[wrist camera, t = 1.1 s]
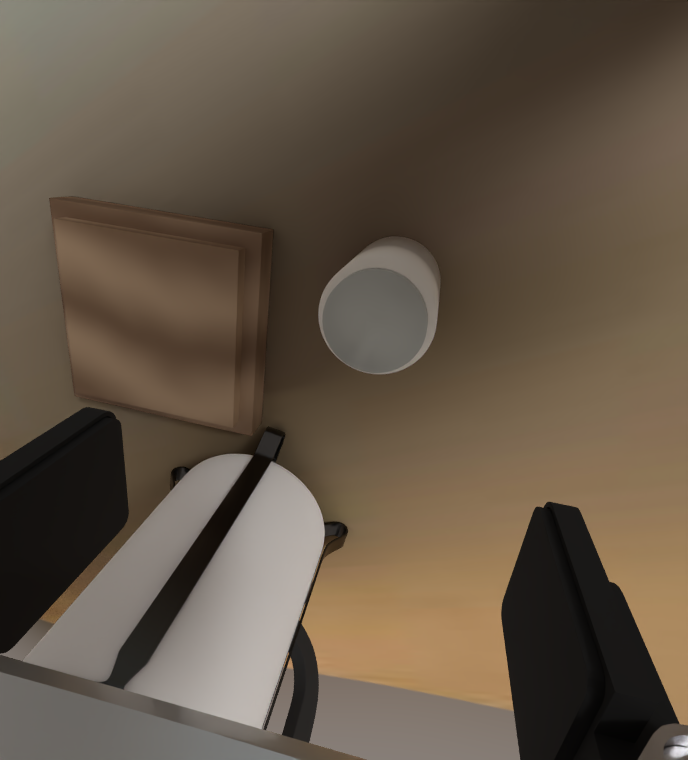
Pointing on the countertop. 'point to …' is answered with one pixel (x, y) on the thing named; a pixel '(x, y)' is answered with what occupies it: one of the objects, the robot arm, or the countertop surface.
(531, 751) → the robot arm
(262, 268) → the plinth
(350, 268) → the canister
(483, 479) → the countertop surface
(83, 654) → the coffee press
